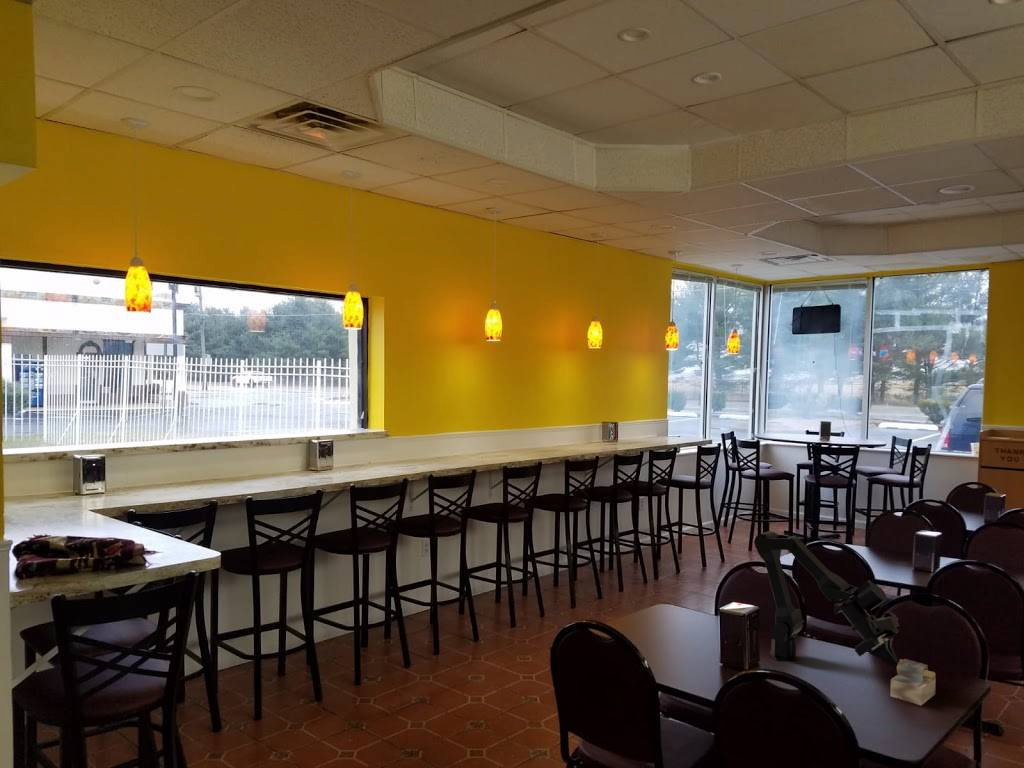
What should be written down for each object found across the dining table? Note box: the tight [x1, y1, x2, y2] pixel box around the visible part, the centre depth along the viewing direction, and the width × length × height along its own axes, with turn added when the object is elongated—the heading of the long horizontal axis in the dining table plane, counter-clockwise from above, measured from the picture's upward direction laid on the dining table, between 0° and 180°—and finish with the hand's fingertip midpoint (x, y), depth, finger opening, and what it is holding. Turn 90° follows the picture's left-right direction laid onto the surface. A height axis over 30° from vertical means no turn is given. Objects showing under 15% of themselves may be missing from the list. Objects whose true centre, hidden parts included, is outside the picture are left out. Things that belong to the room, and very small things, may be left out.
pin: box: [896, 659, 936, 680], centre depth 214 cm, size 9×4×4 cm, turn 44°
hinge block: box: [890, 658, 936, 706], centre depth 214 cm, size 8×11×9 cm
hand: (898, 666), depth 217 cm, fingers closed, pressing on pin
